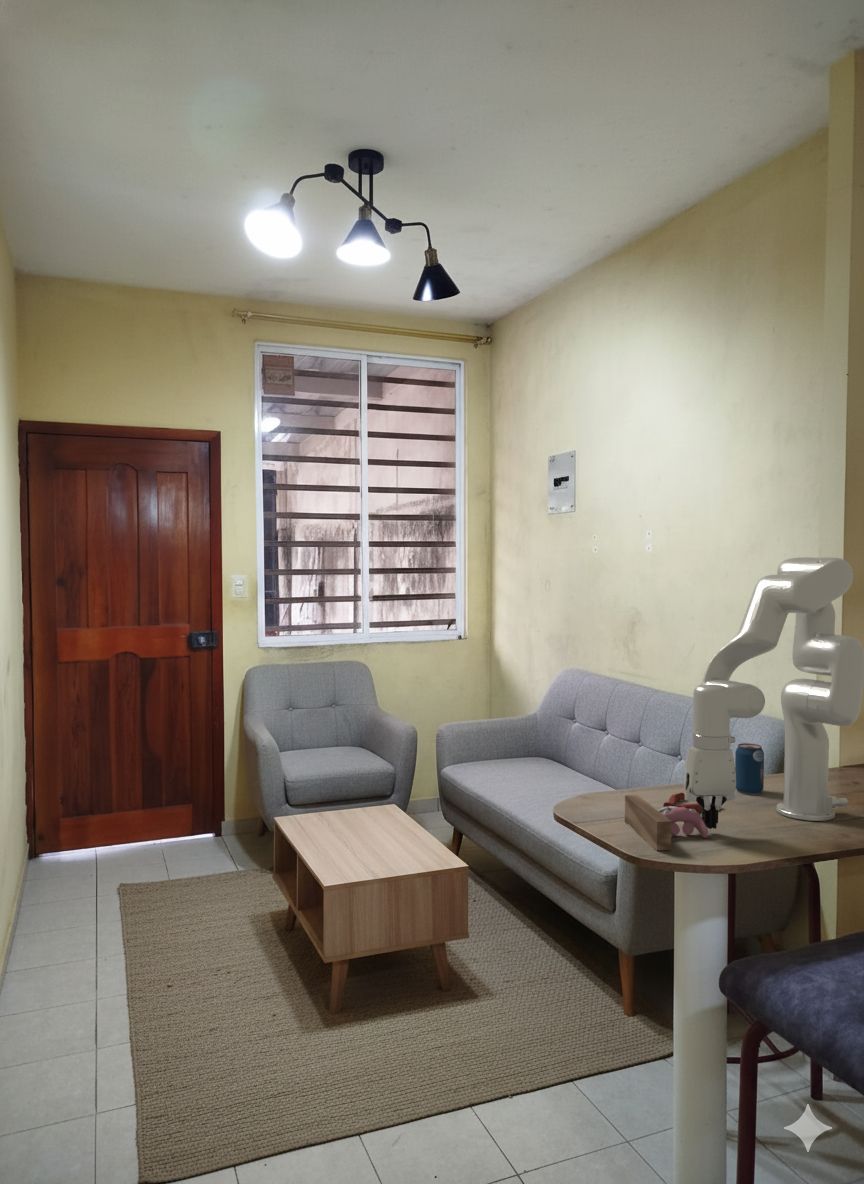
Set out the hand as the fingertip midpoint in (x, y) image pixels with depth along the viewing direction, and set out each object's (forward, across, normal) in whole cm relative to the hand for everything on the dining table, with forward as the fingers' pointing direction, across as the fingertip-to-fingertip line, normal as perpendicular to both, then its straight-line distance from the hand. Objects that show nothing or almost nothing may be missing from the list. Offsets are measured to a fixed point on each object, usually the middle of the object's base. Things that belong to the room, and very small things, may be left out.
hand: (709, 826), depth 185 cm
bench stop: (+2, +14, 0) cm, 14 cm away
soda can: (+2, -25, -33) cm, 41 cm away
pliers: (+2, 0, -19) cm, 19 cm away
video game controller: (+2, +7, +1) cm, 7 cm away
